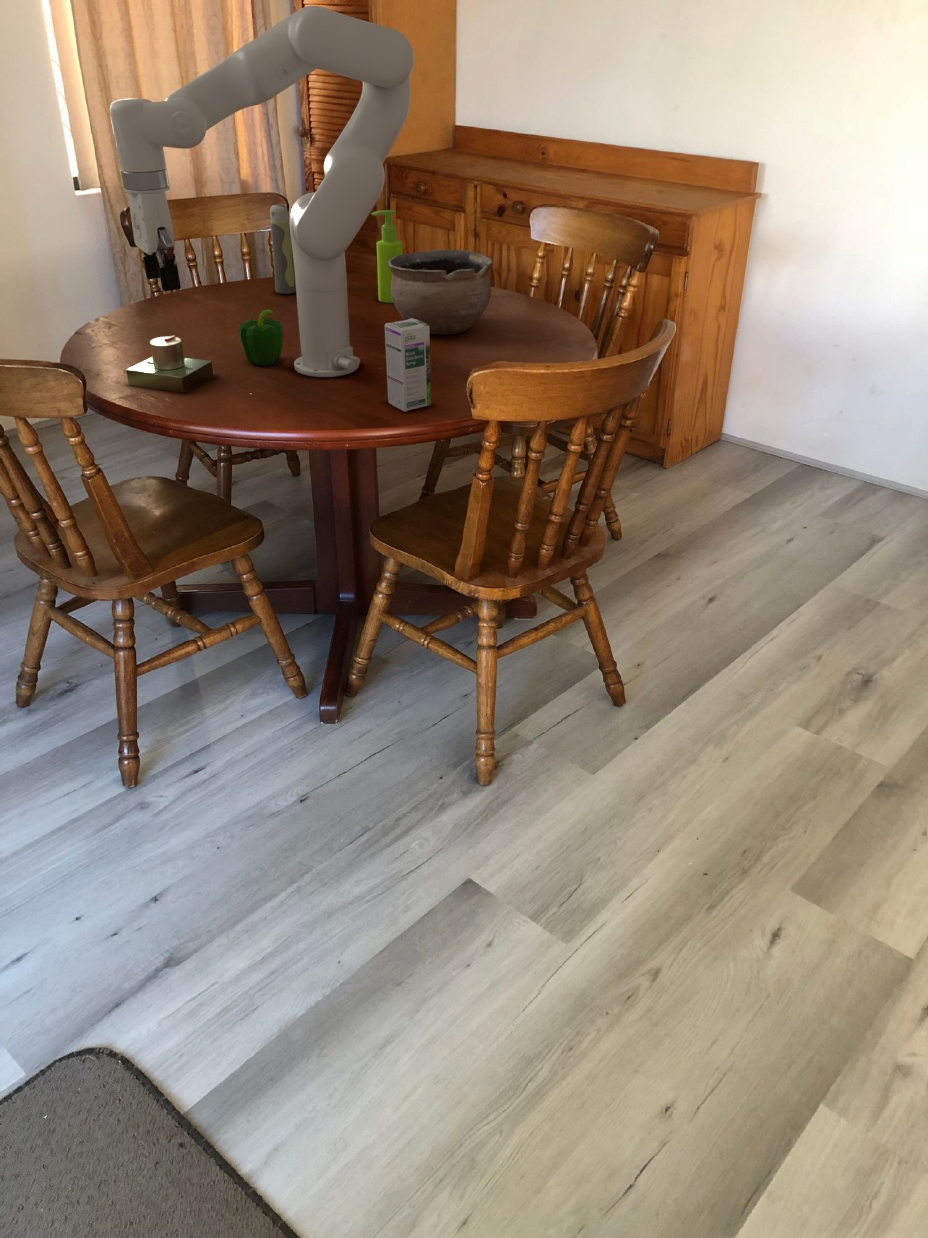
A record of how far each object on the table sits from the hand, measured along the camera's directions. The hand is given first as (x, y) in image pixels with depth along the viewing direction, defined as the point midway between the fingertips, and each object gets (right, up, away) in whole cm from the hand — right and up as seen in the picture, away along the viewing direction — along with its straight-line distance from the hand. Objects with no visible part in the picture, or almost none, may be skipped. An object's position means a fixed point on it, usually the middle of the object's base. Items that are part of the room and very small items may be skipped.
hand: (163, 283), depth 175 cm
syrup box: (+44, -22, -1) cm, 50 cm away
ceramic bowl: (+49, +3, +38) cm, 62 cm away
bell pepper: (+14, -10, +18) cm, 25 cm away
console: (-1, -15, +8) cm, 18 cm away
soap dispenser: (+36, +16, +58) cm, 70 cm away
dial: (-1, -13, +6) cm, 14 cm away
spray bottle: (+11, +19, +62) cm, 66 cm away
